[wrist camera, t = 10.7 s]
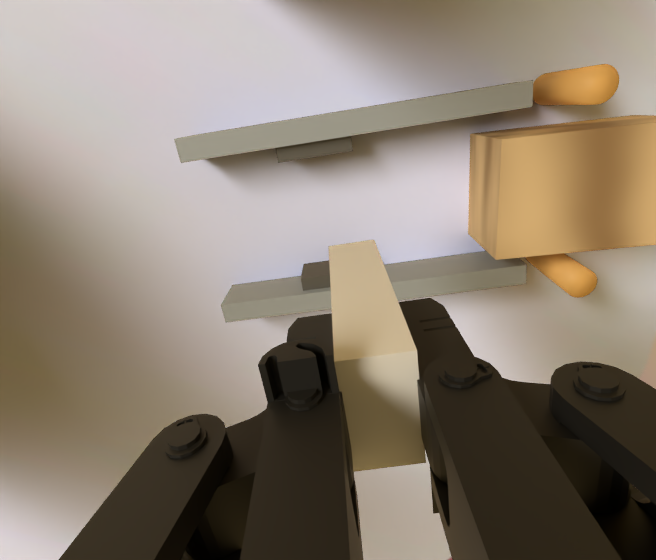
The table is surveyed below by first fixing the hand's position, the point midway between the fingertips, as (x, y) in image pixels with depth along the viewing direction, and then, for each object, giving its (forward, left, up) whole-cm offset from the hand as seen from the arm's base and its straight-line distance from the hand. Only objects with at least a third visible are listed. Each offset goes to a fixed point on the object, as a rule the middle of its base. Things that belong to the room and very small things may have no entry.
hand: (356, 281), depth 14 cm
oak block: (+12, 0, -13) cm, 17 cm away
